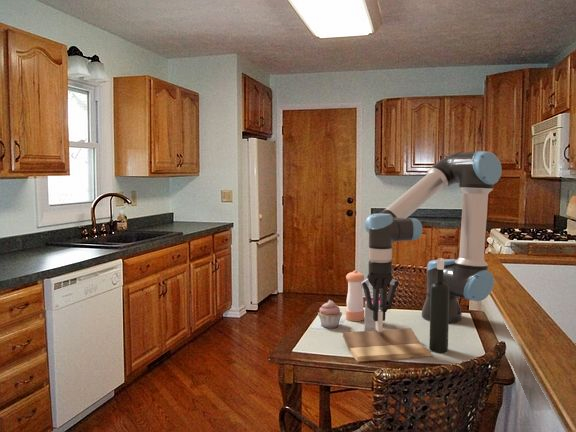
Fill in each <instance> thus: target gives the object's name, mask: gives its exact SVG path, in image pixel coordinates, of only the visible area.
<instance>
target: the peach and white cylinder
mask: <svg viewBox="0 0 576 432" xmlns="http://www.w3.org/2000/svg"><path fill="white" fill-rule="evenodd" d="M345 278H346V281H347V285H348V286H347V288H348V289H347V295H346V309H345V320H347V321H349V322H362V321H365V308H364V304H365V302H364V297H363V295H364V294H363V287H362V285H361V283H360V282H361V281H365V275H364V274H363V273H361V272H360V271H359V272H358V271H357V270H353V271H352V272H351V271H350V272H349V273H347V274H346V275H345ZM361 320H362V321H361Z"/></svg>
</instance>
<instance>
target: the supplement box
mask: <svg viewBox="0 0 576 432" xmlns="http://www.w3.org/2000/svg"><path fill="white" fill-rule="evenodd" d="M371 300H372V304H373V299H371ZM379 310H381V309H380V299H379ZM363 328H364V330H363V331H375V330H376V321H374V320H373V311H372V310H370V309H369V308H368V307H367V302H366V301H365V302H364V327H363Z"/></svg>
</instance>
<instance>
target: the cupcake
mask: <svg viewBox="0 0 576 432" xmlns="http://www.w3.org/2000/svg"><path fill="white" fill-rule="evenodd" d="M317 315H318V318H319V319H320V324H321V327H323V328H326V329H335V328H338V327H339V325H340V321H341V318H342V315H343V313H342V311H341V308H340V307H339V306H338V305H337V304H336V303H335V302H334V301H333V300H331V299H328V300H327V302H325V303H324V304H322V305H321V307H319V311H318V312H317Z"/></svg>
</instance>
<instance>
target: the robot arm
mask: <svg viewBox="0 0 576 432" xmlns="http://www.w3.org/2000/svg"><path fill="white" fill-rule="evenodd" d="M502 168H503V167H502V164H501V161H500V159H499V158H498V156H497V155H496V154H494V153H493V152H491V151H482V150H477V151H462V152H453V153H451V154H448V155H447V156H445V157H444V158H442V159H440V160H439V161H437V162H436V163H434V165H432V166H431V167H430V168H429V169H428V170H427V171H426V172H427V173H426V174H425V176H423V177H421V179H420V180H419V181H417V182H416V183H415V184H414V185H412V187H409V189H407V191H405V192H404V193H403V194H401V195H400V196H399V197H398V198H396V200H394V201H393V202H392V203H391V204H389V205H388V206H387V207H385V208H384V210H382V211H381V212H380V213H372V214H370V215H369V216H368V217H367V218H366V220H365V223H364V228H365V231H366V232H367V234H368V259H369V261H368V271H367V272H368V274H367V276H366V279H364V280H363V281H361V282H360V283H361V285H362V290H363V292H364V293H363V294H364V296H365V302H367V307H368V308H369V309H370V310H372V311H373V320H374V321H376V330H377V331H378V332H380V331H383V330H384V329H383V326H384V325H383V322H384V321H386V313H387V312H388V310H389V311H390V310H391V309H392V306H393V304H394V303H393V302H394V298H395V294H396V291H397V290H396V289H397V288H398V286H399V284H400V281H398V280H396V279H395V278H393V275H392V269H393V268H392V263H393V262H392V261H391V260H393V259H392V258H393V256H392V255H393V253H392V252H393V243H394V242H407V241H410V242H412V241H414V240H415V241H416V240H418V239H420V238H421V236H422V234H423V224H422V222H421V221H420V220H419V219H417V218H415V217H414V218H413V217H410V216H411V215H412V214H413V213H414V212H416V211H417V210H418V209H419V208H420V207H422V205H424V204H425V203H427V201H429V200H430V199H431V198H432V197H433V196H435V195H436V194H437V193H438V192H439V191H440V190H446V189H447V188H448V187H449V186H451V185H454V184H459V187H458V189H459V190H461V192H462V193H463V194H462V208H461V223H460V224H461V225H460V238H459V239H460V241H459V251H458V252H459V255H458V256H459V257H458V258H457V259H456V258H454V259H453V258H451V259H450V258H447V259H446V258H445V259H444V274H443V282H444V283H446V284H448V286H449V323H458V322H460V321H462V318H463V313H462V310H461V306H460V304H459V303H460V302H459V300H458V298H462V299H465V300H467V301H474V302H481V301H483V300H485V299H486V298H488V297H489V296H490V295H491V292H492V291H493V289H494V286H495V279H494V276H493V274H492V272H490V271H489V269H488V268H489V264H488V263H487V262H486V261H485V247H486V233H487V232H486V231H487V230H486V229H487V220H488V219H487V218H488V217H487V215H488V201H489V194H490V192H492V191H493V190H494V185H495V184H496V183H498V182H499V179H501V177H502V172H503V171H502ZM437 260H438V259H432V260H430V261H428V262H427V267H426V268H427V269H426V298H425V300H424V303H423V306H422V309H421V317H422V318H423V319H425V320H427V321H430V296H431V285H432V284H433V283H435V282H437ZM389 285H390V286H389ZM369 286H371V287H372V294H371V292H370V288H369ZM388 286H389V289H388ZM387 291H388V294H387ZM371 295H372V296H371ZM372 300H373V304H372ZM379 300H380V309H381V310H379Z"/></svg>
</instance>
